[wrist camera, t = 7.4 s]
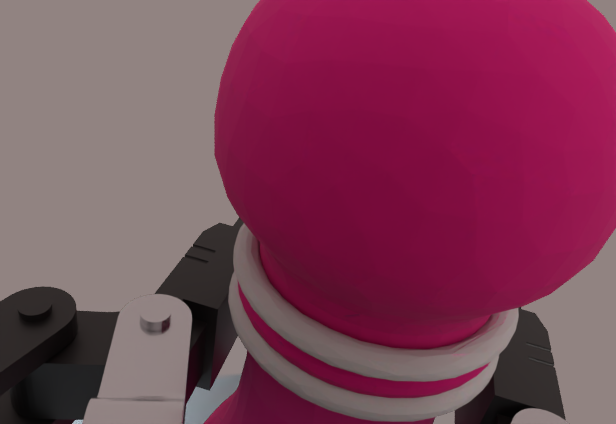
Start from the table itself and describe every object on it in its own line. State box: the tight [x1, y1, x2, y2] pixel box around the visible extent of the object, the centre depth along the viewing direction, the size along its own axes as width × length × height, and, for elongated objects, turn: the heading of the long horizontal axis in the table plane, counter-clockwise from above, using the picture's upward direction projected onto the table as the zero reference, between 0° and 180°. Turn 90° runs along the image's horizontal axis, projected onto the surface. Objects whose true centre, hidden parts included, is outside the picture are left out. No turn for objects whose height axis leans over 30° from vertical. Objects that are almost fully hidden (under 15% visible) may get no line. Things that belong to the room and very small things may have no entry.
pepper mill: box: [204, 0, 616, 424], centre depth 11 cm, size 7×7×20 cm
